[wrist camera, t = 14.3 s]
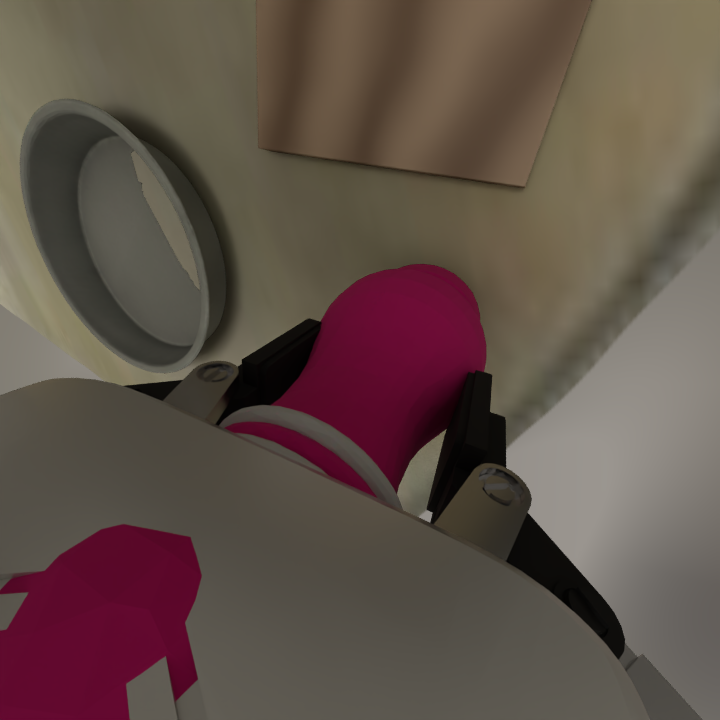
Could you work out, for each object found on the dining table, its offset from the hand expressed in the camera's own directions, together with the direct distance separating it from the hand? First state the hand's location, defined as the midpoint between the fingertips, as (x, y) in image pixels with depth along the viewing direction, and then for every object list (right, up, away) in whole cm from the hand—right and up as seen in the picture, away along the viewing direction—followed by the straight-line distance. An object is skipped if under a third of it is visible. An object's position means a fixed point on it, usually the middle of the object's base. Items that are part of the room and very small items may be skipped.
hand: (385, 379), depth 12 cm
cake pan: (-23, +12, +22) cm, 34 cm away
